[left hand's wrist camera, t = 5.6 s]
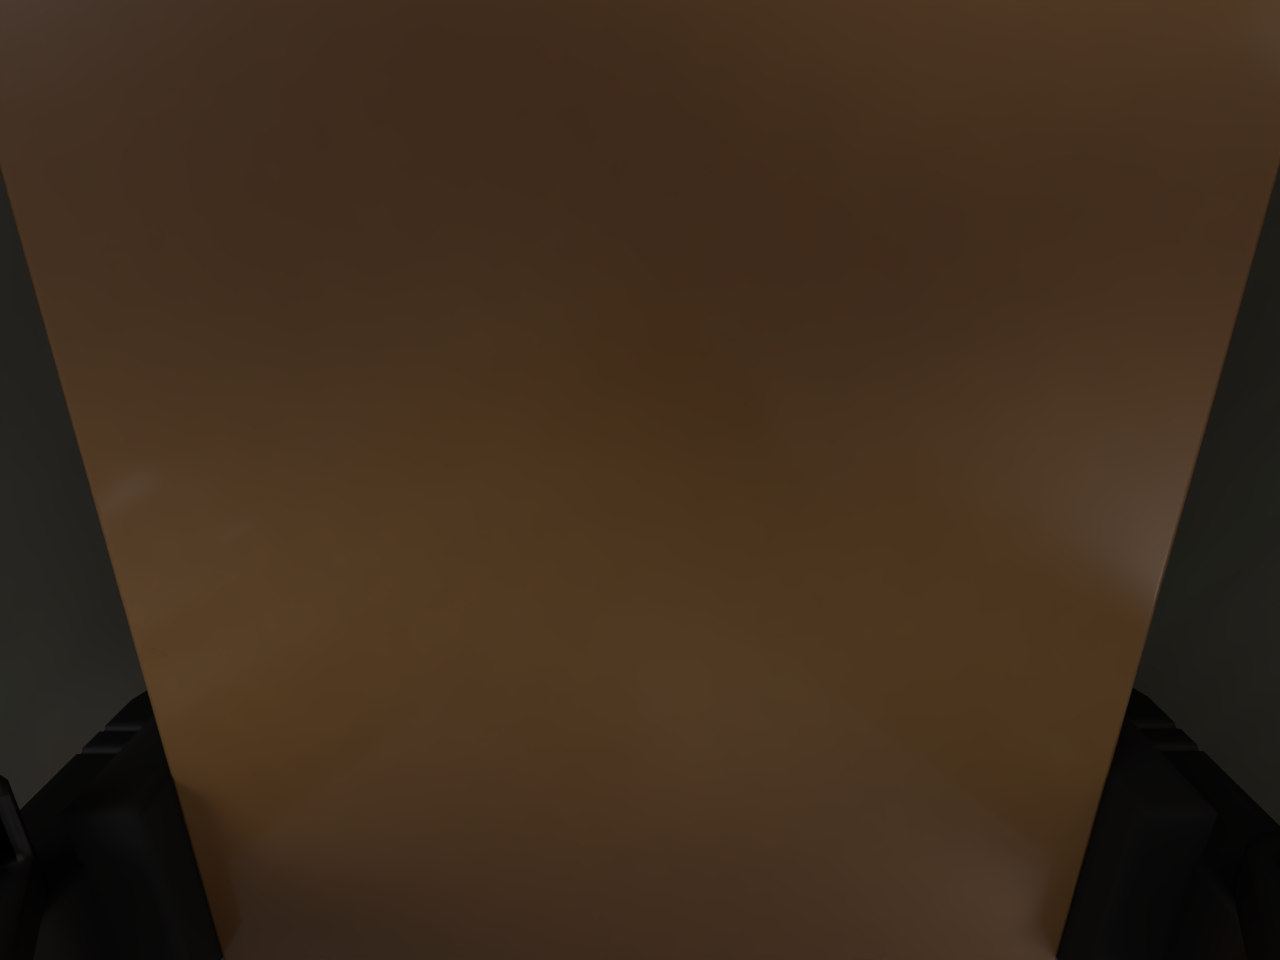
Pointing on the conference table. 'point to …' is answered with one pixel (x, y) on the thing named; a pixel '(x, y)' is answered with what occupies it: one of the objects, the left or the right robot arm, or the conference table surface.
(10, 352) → the conference table surface
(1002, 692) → the wide beam
